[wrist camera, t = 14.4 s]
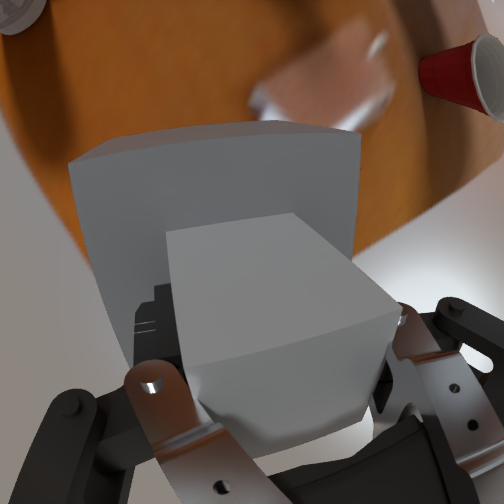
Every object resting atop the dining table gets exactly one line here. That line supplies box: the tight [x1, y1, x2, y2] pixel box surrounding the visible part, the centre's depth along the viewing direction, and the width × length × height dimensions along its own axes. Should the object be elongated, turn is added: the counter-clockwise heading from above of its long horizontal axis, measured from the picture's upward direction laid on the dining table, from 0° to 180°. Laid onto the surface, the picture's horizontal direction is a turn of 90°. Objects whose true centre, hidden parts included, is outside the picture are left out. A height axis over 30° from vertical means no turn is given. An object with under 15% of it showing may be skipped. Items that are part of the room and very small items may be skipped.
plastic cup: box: [418, 33, 504, 124], centre depth 25 cm, size 11×11×12 cm
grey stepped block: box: [68, 120, 403, 459], centre depth 13 cm, size 10×10×15 cm
